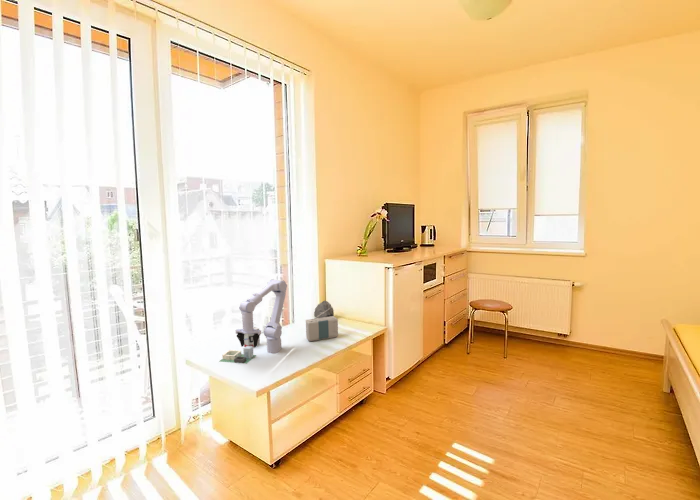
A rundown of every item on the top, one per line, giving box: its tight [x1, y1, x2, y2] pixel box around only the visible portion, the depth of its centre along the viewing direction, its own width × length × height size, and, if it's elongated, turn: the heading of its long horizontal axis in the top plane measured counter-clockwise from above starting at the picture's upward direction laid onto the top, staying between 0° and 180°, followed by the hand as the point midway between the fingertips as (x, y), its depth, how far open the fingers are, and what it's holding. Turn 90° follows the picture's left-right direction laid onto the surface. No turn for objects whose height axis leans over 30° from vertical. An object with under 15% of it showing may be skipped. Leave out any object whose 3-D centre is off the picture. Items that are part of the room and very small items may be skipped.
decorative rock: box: [313, 300, 335, 318], centre depth 285 cm, size 16×7×15 cm, turn 62°
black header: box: [233, 356, 246, 364], centre depth 203 cm, size 5×4×2 cm
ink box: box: [243, 326, 261, 348], centre depth 227 cm, size 9×5×12 cm, turn 137°
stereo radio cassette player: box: [305, 306, 339, 342], centre depth 241 cm, size 21×8×20 cm, turn 114°
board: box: [218, 353, 257, 364], centre depth 208 cm, size 12×17×1 cm
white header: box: [221, 349, 242, 360], centre depth 209 cm, size 8×8×2 cm
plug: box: [242, 346, 254, 359], centre depth 208 cm, size 4×4×6 cm
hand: (249, 346), depth 202 cm, fingers open, 7 cm apart
